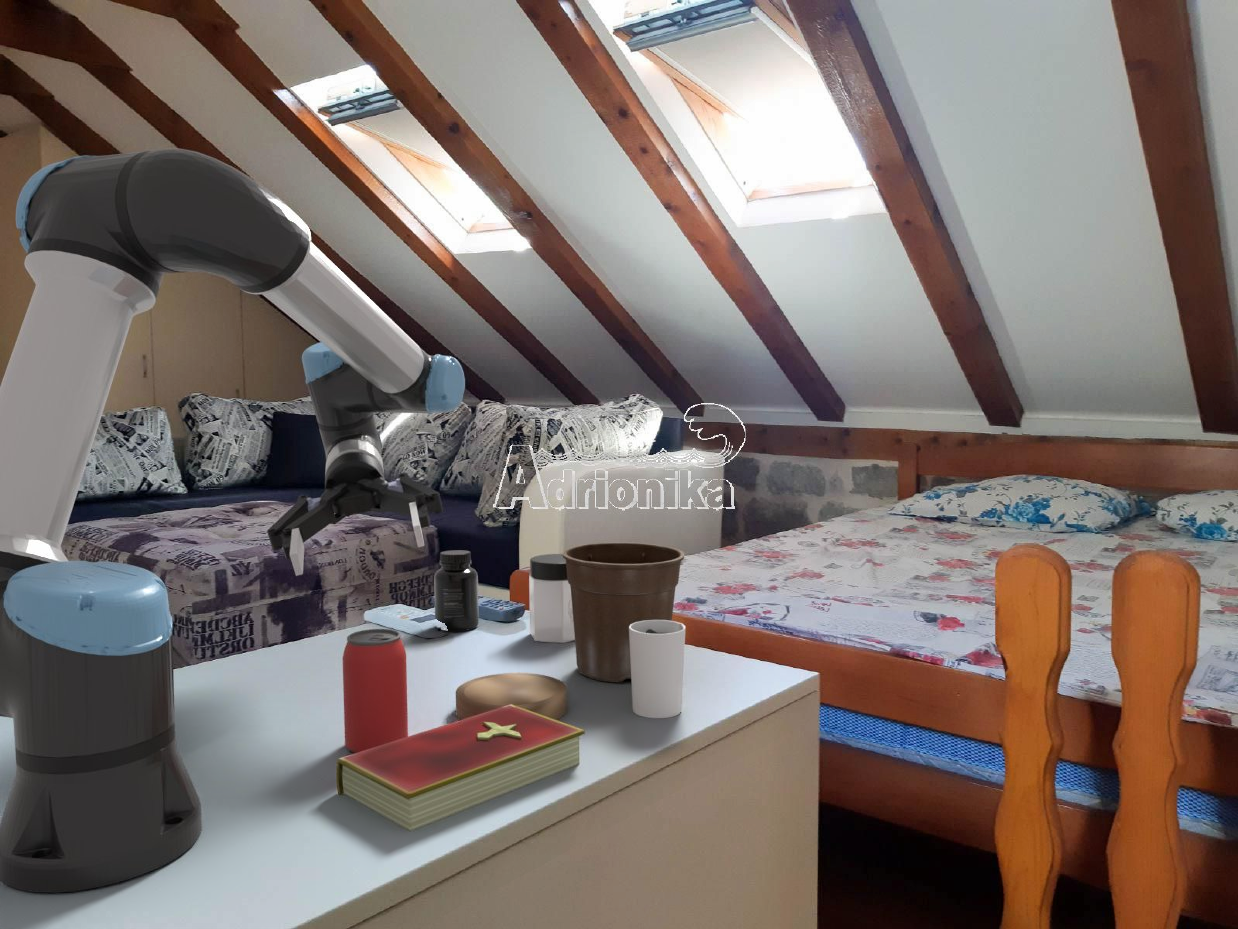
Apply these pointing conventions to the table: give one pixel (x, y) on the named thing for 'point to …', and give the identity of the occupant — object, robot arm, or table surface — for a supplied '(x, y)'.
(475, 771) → the hardcover book
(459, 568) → the supplement bottle
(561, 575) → the jar
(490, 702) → the shallow wooden bowl
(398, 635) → the beer can
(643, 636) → the white cup
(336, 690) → the table surface
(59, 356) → the robot arm
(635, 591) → the plant pot
